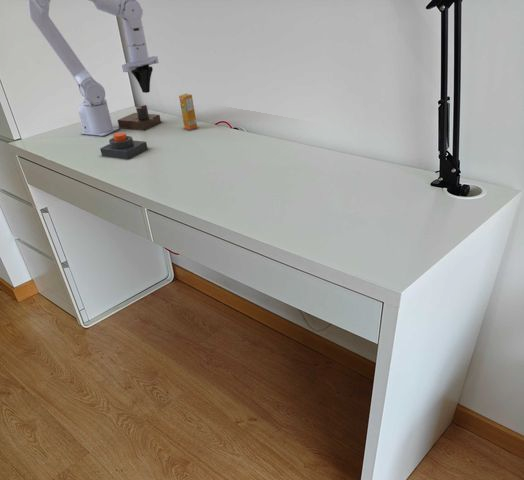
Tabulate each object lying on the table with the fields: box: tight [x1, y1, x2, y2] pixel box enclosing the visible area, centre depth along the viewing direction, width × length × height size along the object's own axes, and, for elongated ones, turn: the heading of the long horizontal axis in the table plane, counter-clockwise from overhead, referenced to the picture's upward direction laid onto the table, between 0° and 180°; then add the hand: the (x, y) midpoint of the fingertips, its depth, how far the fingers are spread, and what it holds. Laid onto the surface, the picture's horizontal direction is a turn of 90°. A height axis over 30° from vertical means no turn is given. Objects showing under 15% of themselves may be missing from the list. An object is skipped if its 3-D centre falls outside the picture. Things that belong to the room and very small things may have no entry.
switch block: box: [99, 135, 149, 160], centre depth 146 cm, size 10×9×4 cm
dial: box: [135, 104, 150, 120], centre depth 164 cm, size 4×4×4 cm
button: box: [112, 132, 127, 142], centre depth 144 cm, size 4×4×2 cm
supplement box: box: [178, 92, 198, 131], centre depth 159 cm, size 3×3×10 cm
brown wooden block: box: [117, 112, 162, 131], centre depth 168 cm, size 12×9×3 cm
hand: (146, 92), depth 165 cm, fingers closed
